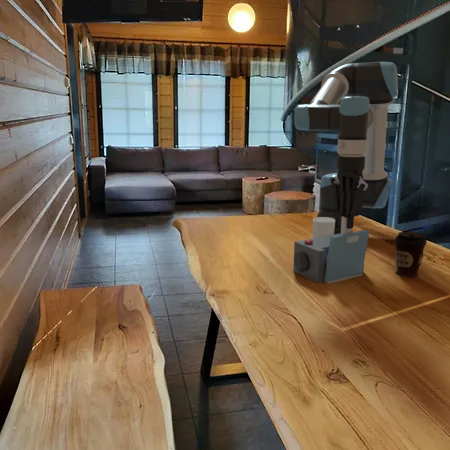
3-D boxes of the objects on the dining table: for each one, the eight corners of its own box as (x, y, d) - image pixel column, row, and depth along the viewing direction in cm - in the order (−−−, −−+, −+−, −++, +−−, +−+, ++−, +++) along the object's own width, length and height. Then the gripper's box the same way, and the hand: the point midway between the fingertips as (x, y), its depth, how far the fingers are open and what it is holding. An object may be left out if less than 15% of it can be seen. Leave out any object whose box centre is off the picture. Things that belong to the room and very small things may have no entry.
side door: (358, 274, 138) (366, 229, 133) (363, 277, 137) (371, 232, 132) (323, 282, 132) (330, 236, 127) (328, 286, 130) (335, 238, 125)
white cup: (309, 248, 165) (310, 221, 163) (313, 242, 172) (315, 216, 170) (331, 250, 162) (333, 223, 160) (335, 244, 169) (336, 218, 167)
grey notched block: (337, 263, 149) (339, 231, 146) (363, 273, 140) (365, 239, 137) (289, 273, 140) (291, 239, 137) (313, 285, 130) (315, 249, 128)
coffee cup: (407, 283, 132) (411, 239, 129) (385, 274, 139) (389, 232, 136) (428, 278, 136) (433, 235, 133) (405, 269, 143) (409, 229, 140)
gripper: (324, 153, 129) (320, 235, 135) (358, 158, 118) (352, 246, 124) (344, 152, 133) (339, 231, 139) (379, 156, 122) (372, 242, 128)
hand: (345, 238), depth 131 cm, fingers closed
